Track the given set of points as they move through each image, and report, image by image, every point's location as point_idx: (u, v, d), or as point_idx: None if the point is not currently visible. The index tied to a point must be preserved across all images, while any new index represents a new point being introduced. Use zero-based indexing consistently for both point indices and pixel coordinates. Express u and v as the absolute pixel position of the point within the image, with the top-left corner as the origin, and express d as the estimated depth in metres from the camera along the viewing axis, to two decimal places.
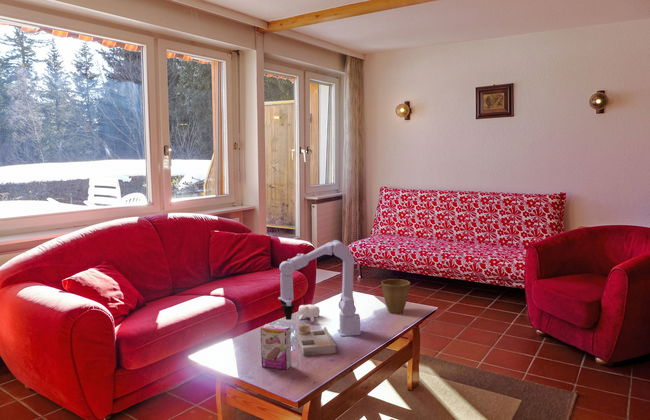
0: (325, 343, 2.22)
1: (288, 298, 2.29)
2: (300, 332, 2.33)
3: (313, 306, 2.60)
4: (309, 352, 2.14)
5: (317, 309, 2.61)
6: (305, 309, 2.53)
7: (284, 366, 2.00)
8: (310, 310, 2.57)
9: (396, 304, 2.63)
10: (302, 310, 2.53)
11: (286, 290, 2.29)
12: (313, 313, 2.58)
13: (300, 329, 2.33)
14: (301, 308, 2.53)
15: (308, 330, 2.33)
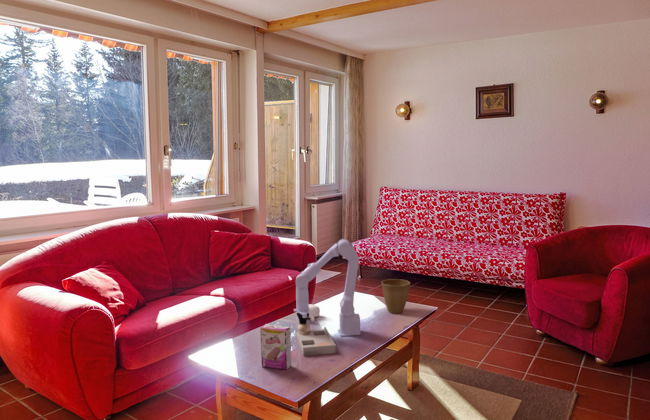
0: (325, 343, 2.22)
1: (304, 310, 2.35)
2: (300, 332, 2.33)
3: (313, 306, 2.61)
4: (309, 352, 2.14)
5: (317, 309, 2.62)
6: None
7: (284, 366, 2.00)
8: (310, 310, 2.58)
9: (396, 304, 2.63)
10: None
11: (302, 302, 2.35)
12: (313, 313, 2.58)
13: (300, 329, 2.33)
14: None
15: (308, 330, 2.33)
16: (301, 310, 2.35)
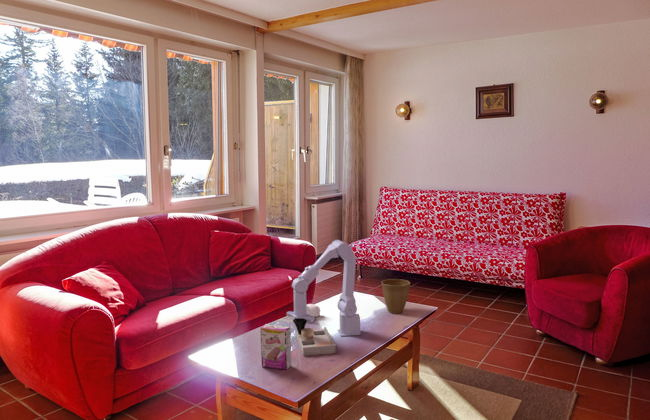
0: (325, 343, 2.22)
1: (305, 314, 2.29)
2: (303, 337, 2.27)
3: (313, 305, 2.61)
4: (309, 352, 2.14)
5: (317, 309, 2.62)
6: None
7: (284, 366, 2.00)
8: (310, 309, 2.58)
9: (396, 304, 2.63)
10: None
11: (304, 307, 2.28)
12: (313, 312, 2.58)
13: (303, 334, 2.27)
14: None
15: (311, 335, 2.27)
16: (304, 315, 2.28)
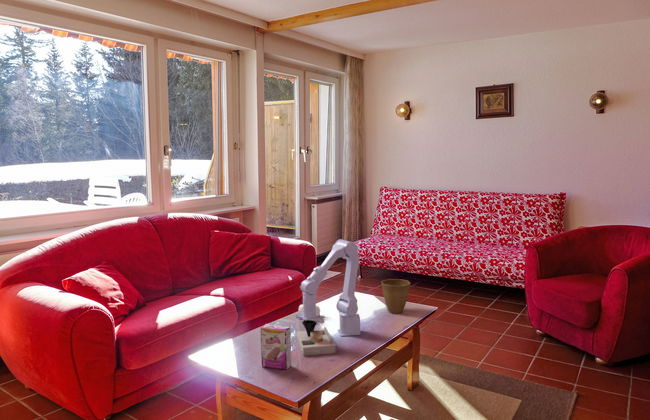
0: (325, 343, 2.22)
1: (315, 316, 2.26)
2: (312, 339, 2.24)
3: None
4: (309, 352, 2.14)
5: (317, 308, 2.62)
6: None
7: (284, 366, 2.00)
8: None
9: (396, 304, 2.63)
10: (302, 309, 2.54)
11: (313, 309, 2.25)
12: None
13: (312, 336, 2.24)
14: (301, 307, 2.55)
15: (320, 337, 2.24)
16: (313, 317, 2.25)
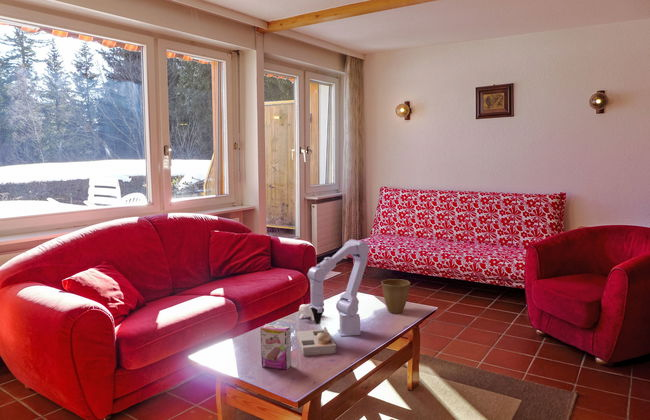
0: None
1: (319, 305, 2.25)
2: (319, 341, 2.22)
3: None
4: (309, 352, 2.14)
5: None
6: (306, 308, 2.54)
7: (284, 366, 2.00)
8: None
9: (396, 304, 2.63)
10: (303, 309, 2.54)
11: (317, 296, 2.24)
12: None
13: (319, 338, 2.21)
14: (302, 307, 2.55)
15: (327, 339, 2.21)
16: (316, 304, 2.25)
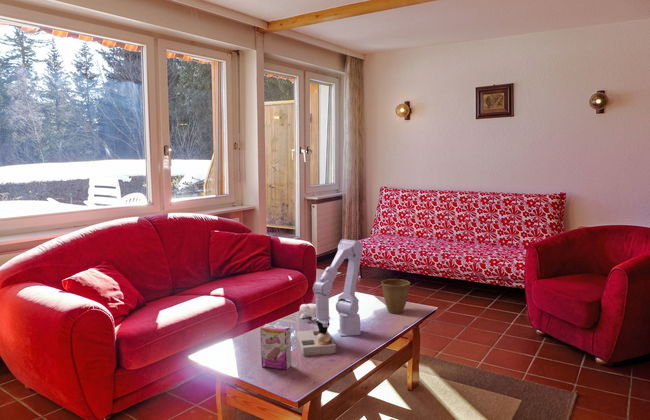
0: None
1: (324, 319, 2.23)
2: (319, 342, 2.21)
3: (314, 305, 2.62)
4: (309, 352, 2.14)
5: None
6: (306, 308, 2.55)
7: (284, 366, 2.00)
8: (311, 309, 2.59)
9: (396, 304, 2.63)
10: (303, 309, 2.54)
11: (322, 310, 2.22)
12: (314, 312, 2.59)
13: (319, 339, 2.20)
14: (302, 307, 2.55)
15: (328, 340, 2.20)
16: (321, 319, 2.23)
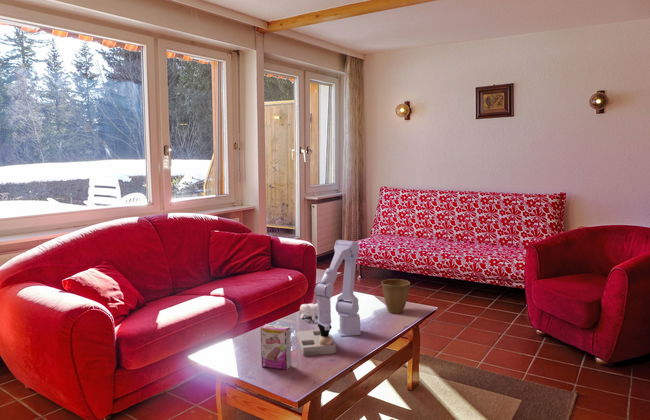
0: None
1: (326, 322, 2.19)
2: (321, 345, 2.17)
3: (314, 305, 2.62)
4: (309, 352, 2.14)
5: None
6: (306, 308, 2.55)
7: (284, 366, 2.00)
8: (311, 309, 2.59)
9: (396, 304, 2.63)
10: (303, 309, 2.54)
11: (324, 313, 2.18)
12: (314, 312, 2.59)
13: (321, 342, 2.17)
14: (302, 307, 2.55)
15: (329, 343, 2.17)
16: (323, 321, 2.19)
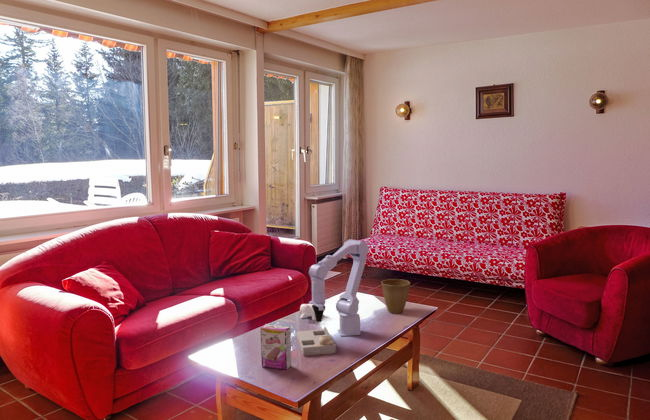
0: None
1: (320, 302, 2.23)
2: (321, 345, 2.17)
3: None
4: (309, 352, 2.14)
5: None
6: (306, 308, 2.55)
7: (284, 366, 2.00)
8: (311, 309, 2.59)
9: (396, 304, 2.63)
10: (303, 309, 2.55)
11: (318, 294, 2.23)
12: None
13: (321, 342, 2.17)
14: (302, 307, 2.55)
15: (329, 343, 2.17)
16: (317, 302, 2.23)
